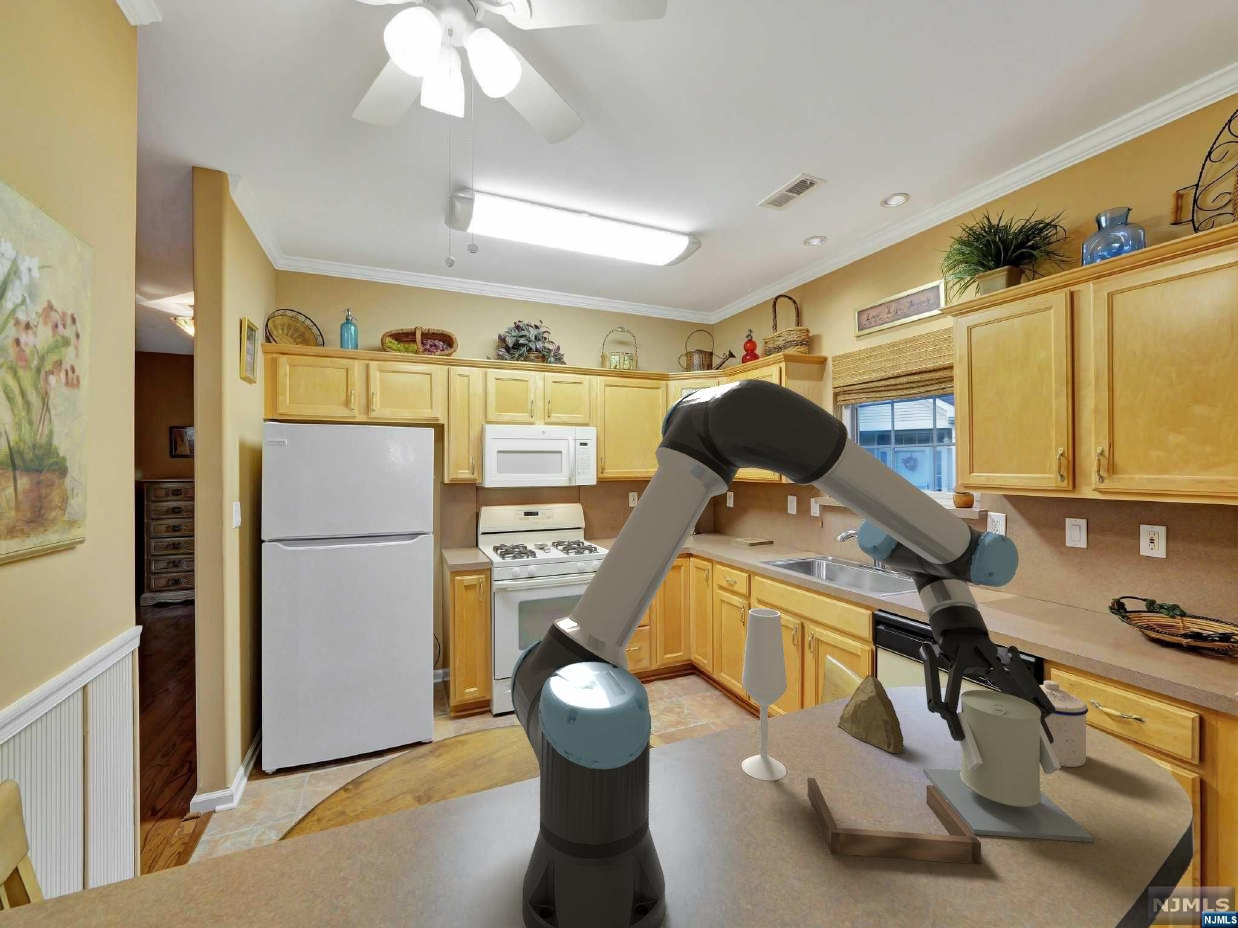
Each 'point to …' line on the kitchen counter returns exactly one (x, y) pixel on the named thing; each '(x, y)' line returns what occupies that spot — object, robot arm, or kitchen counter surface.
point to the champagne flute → (764, 683)
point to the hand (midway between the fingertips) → (1014, 768)
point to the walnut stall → (901, 834)
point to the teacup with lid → (1066, 725)
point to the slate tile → (1005, 812)
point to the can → (1003, 747)
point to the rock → (872, 717)
